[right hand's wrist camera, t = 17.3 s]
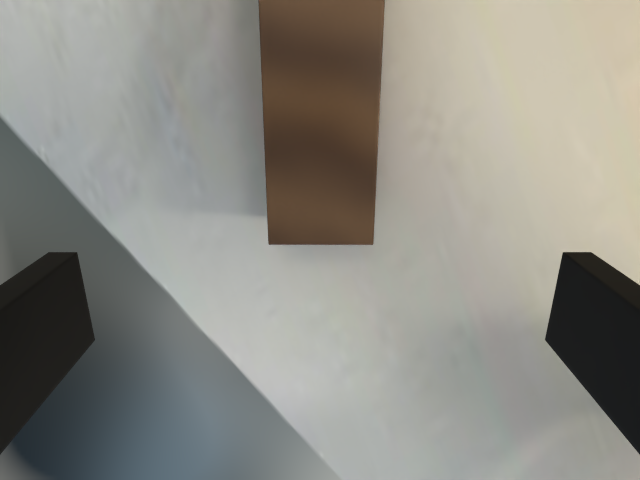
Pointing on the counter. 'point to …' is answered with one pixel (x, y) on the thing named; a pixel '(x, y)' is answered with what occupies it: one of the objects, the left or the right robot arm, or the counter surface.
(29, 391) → the right robot arm
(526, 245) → the counter surface
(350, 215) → the long beam
